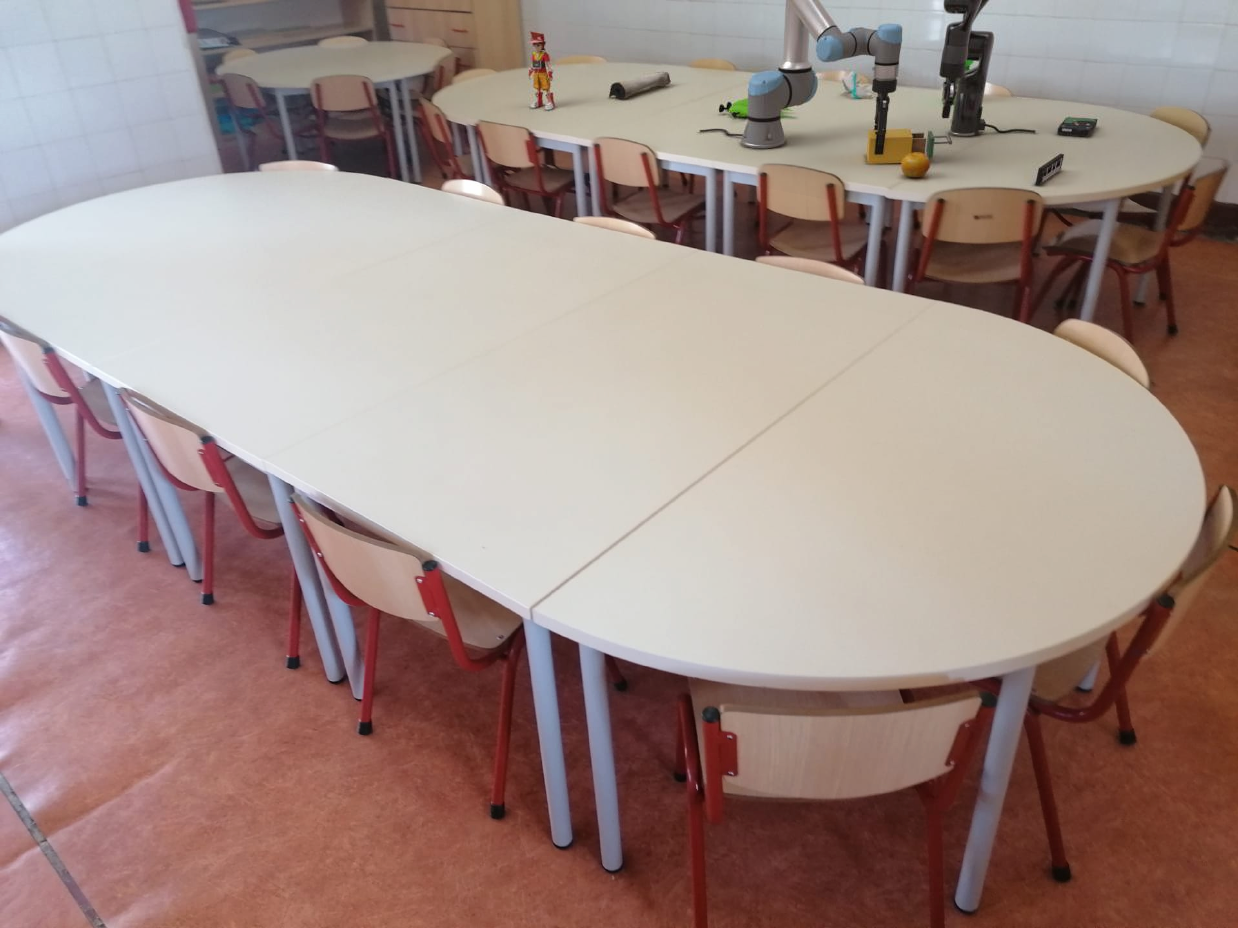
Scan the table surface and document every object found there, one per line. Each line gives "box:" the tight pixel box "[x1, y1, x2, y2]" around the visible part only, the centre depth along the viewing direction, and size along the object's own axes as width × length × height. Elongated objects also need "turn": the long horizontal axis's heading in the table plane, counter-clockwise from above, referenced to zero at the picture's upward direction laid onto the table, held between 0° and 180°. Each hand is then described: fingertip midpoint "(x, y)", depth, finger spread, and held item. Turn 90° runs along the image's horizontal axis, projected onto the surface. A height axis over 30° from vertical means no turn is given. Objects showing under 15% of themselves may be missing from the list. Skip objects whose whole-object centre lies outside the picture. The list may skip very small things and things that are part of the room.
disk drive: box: [1057, 116, 1098, 137], centre depth 313 cm, size 10×3×15 cm
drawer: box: [911, 130, 953, 160], centre depth 294 cm, size 18×9×6 cm, turn 80°
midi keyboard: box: [1035, 153, 1065, 186], centre depth 273 cm, size 18×1×5 cm, turn 138°
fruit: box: [900, 152, 931, 178], centre depth 281 cm, size 8×8×8 cm
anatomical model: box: [841, 70, 873, 100], centre depth 370 cm, size 15×10×10 cm
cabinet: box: [865, 128, 913, 165], centre depth 296 cm, size 13×10×8 cm
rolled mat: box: [608, 71, 672, 101], centre depth 395 cm, size 30×9×10 cm
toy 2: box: [718, 97, 794, 118], centre depth 353 cm, size 28×5×30 cm
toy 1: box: [527, 31, 556, 111], centre depth 374 cm, size 12×9×30 cm
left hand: (877, 149), depth 297 cm, fingers closed on cabinet, 10 cm apart
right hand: (945, 118), depth 288 cm, fingers closed
